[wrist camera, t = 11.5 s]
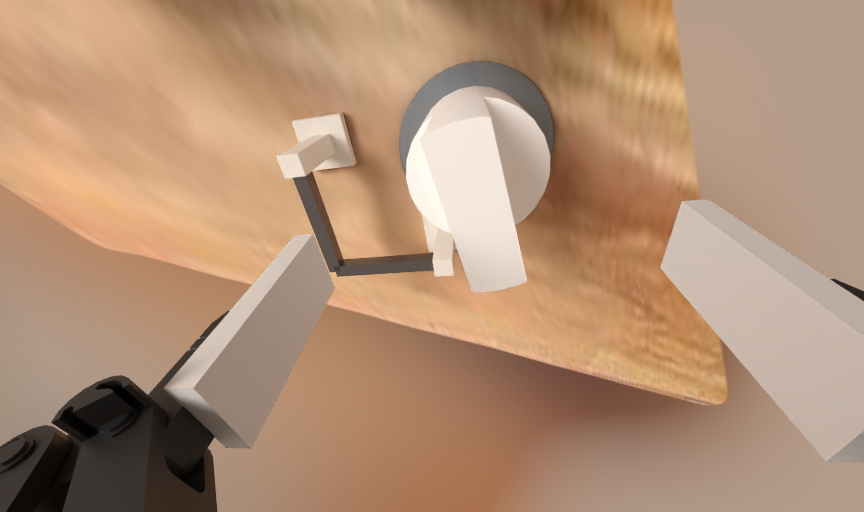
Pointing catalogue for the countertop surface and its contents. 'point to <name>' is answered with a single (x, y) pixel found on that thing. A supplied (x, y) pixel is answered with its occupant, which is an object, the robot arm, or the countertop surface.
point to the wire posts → (332, 148)
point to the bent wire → (332, 250)
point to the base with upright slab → (480, 179)
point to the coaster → (467, 77)
